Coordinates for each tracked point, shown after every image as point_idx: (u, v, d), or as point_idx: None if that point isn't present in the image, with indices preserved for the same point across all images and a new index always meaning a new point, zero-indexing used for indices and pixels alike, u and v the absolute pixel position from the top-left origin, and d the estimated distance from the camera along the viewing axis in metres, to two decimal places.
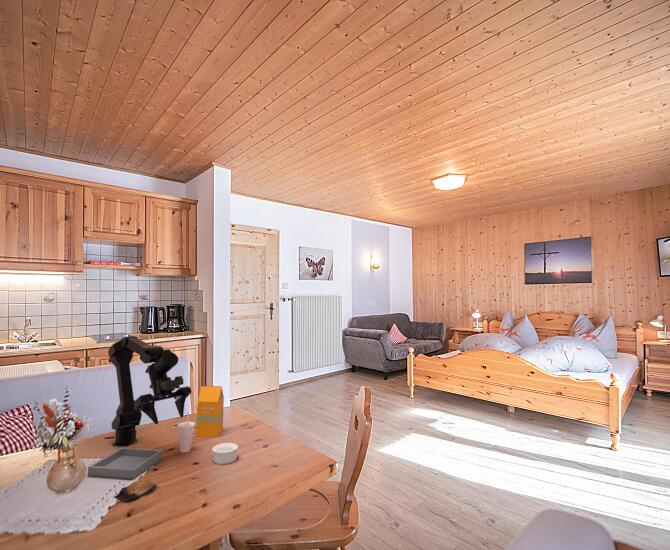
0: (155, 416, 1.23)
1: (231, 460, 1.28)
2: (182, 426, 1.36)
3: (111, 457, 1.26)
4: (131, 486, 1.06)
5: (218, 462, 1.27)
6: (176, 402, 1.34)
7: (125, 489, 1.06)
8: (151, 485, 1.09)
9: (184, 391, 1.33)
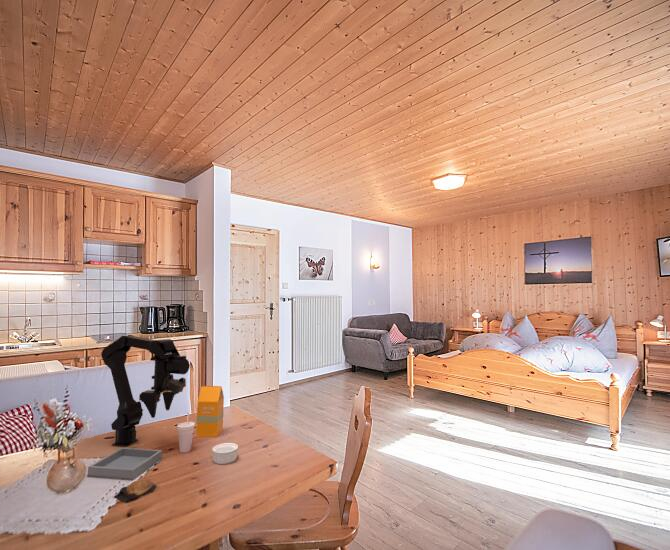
0: (155, 411, 1.35)
1: (231, 460, 1.28)
2: (182, 426, 1.36)
3: (111, 457, 1.26)
4: (131, 486, 1.06)
5: (218, 462, 1.27)
6: (164, 394, 1.45)
7: (125, 489, 1.07)
8: (151, 485, 1.09)
9: None
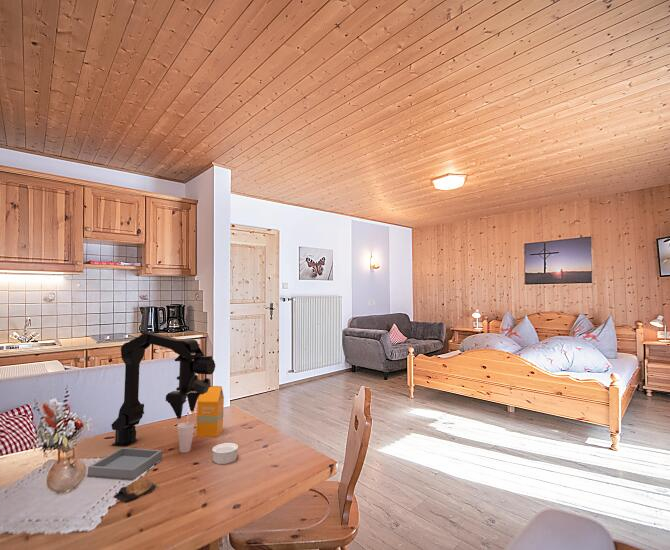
0: (181, 412, 1.34)
1: (231, 460, 1.28)
2: (182, 426, 1.36)
3: (111, 457, 1.26)
4: (130, 486, 1.06)
5: (218, 462, 1.27)
6: (189, 394, 1.44)
7: (124, 489, 1.07)
8: (150, 485, 1.09)
9: None
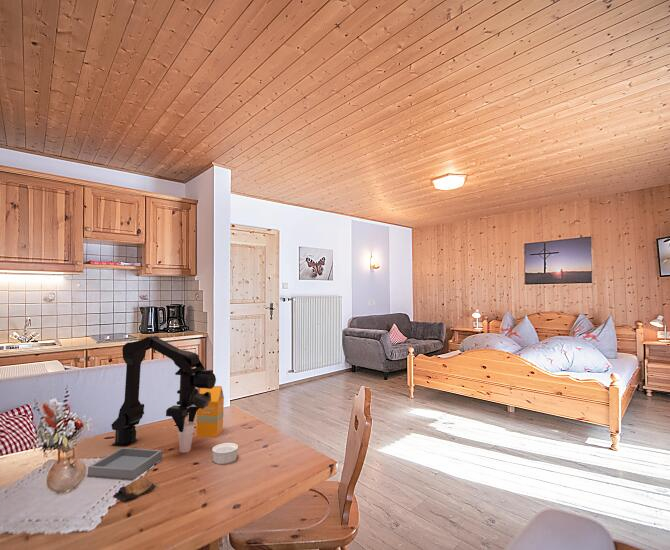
0: (183, 426, 1.35)
1: (231, 460, 1.28)
2: None
3: (111, 457, 1.26)
4: (130, 485, 1.06)
5: (218, 462, 1.27)
6: (187, 409, 1.43)
7: (124, 488, 1.07)
8: (150, 485, 1.09)
9: None
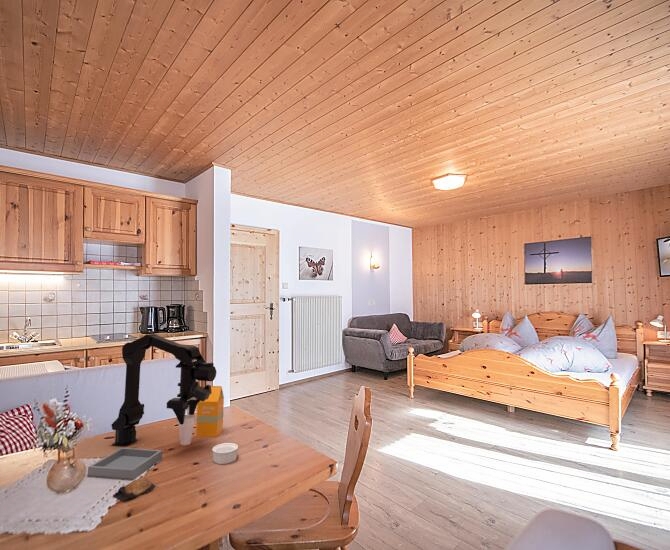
0: (183, 418, 1.35)
1: (231, 460, 1.28)
2: None
3: (111, 457, 1.26)
4: (129, 485, 1.07)
5: (218, 462, 1.27)
6: (188, 402, 1.43)
7: (123, 488, 1.07)
8: (149, 484, 1.09)
9: None
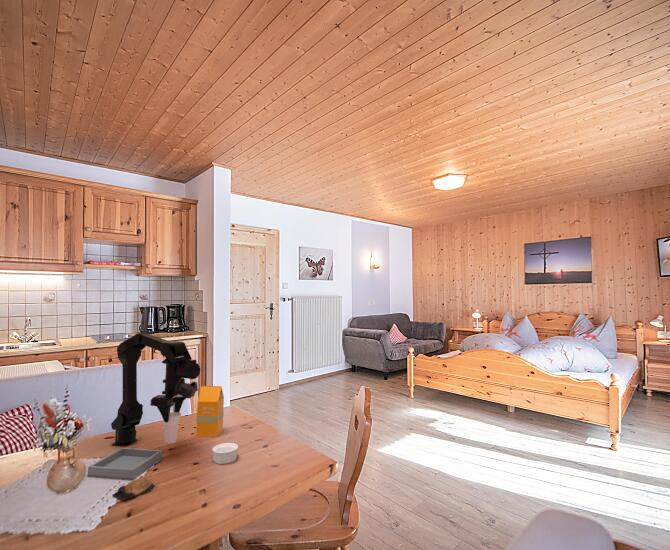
0: (168, 416, 1.31)
1: (231, 460, 1.28)
2: None
3: (111, 457, 1.26)
4: (129, 485, 1.07)
5: (218, 462, 1.27)
6: (173, 399, 1.39)
7: (123, 488, 1.07)
8: (149, 484, 1.09)
9: None
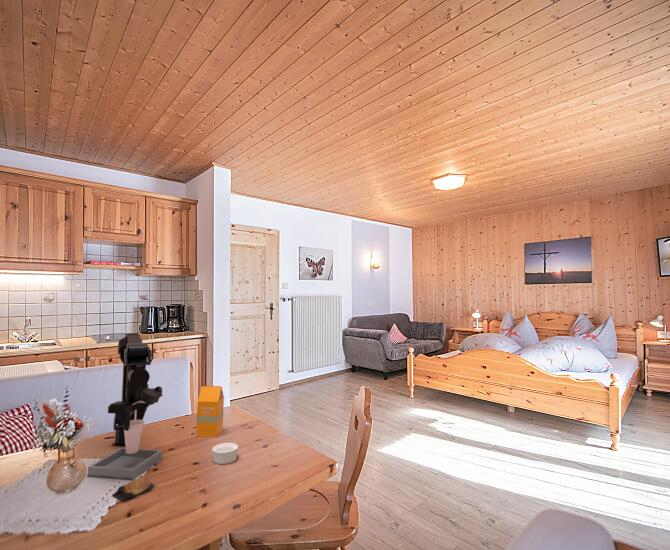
0: (128, 424, 1.22)
1: (231, 460, 1.28)
2: None
3: (111, 457, 1.26)
4: (128, 485, 1.07)
5: (218, 462, 1.27)
6: (136, 405, 1.30)
7: (123, 488, 1.07)
8: (148, 484, 1.09)
9: None
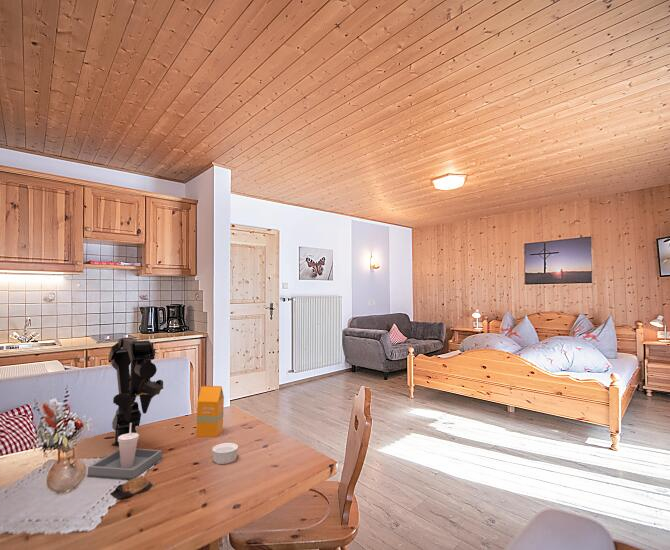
0: (130, 415, 1.31)
1: (231, 460, 1.28)
2: (123, 438, 1.22)
3: (111, 457, 1.26)
4: (126, 484, 1.07)
5: (218, 462, 1.27)
6: (142, 396, 1.41)
7: (121, 486, 1.08)
8: (146, 484, 1.09)
9: None
